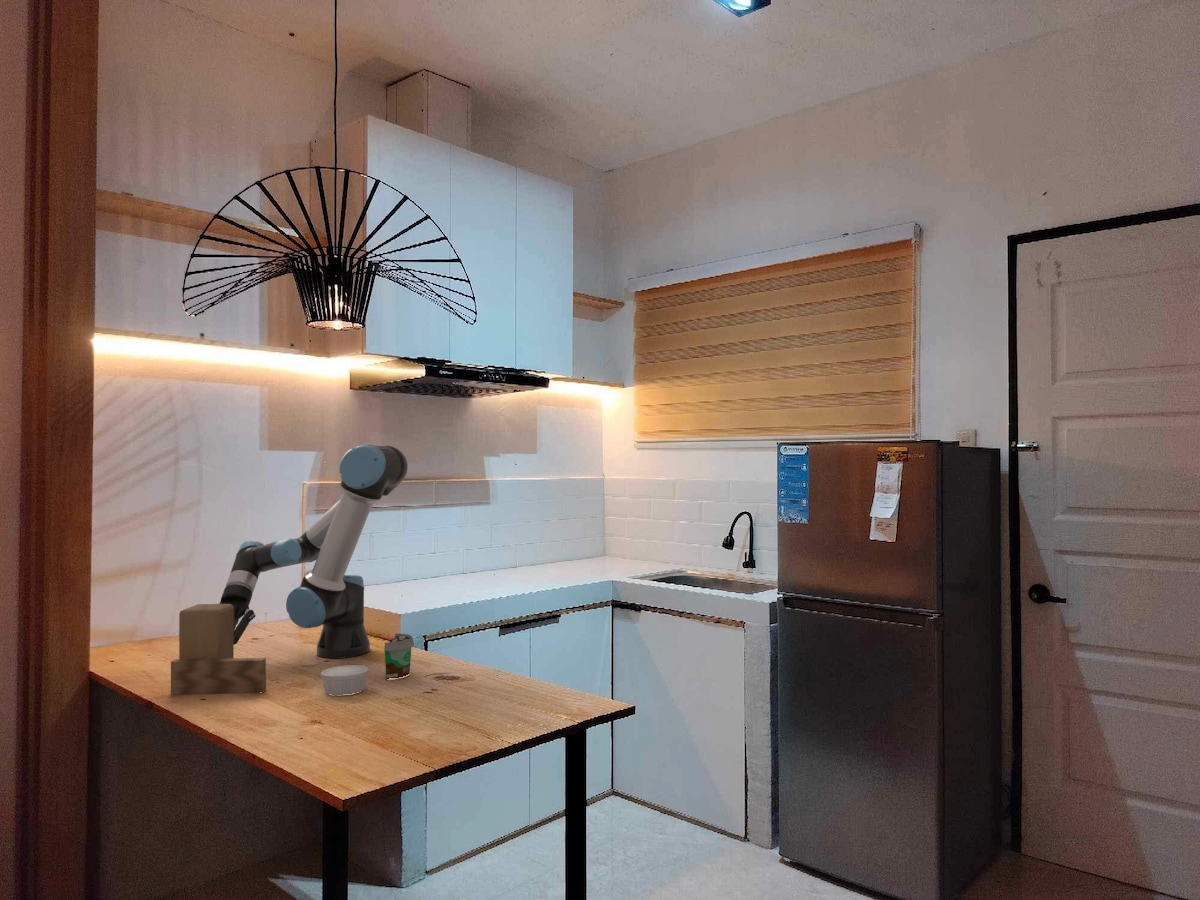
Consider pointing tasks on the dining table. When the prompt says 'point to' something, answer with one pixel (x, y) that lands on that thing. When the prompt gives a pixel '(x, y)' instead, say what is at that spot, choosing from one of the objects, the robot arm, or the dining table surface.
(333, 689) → the ramekin
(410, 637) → the food container
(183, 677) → the board
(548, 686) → the dining table surface
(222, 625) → the block
